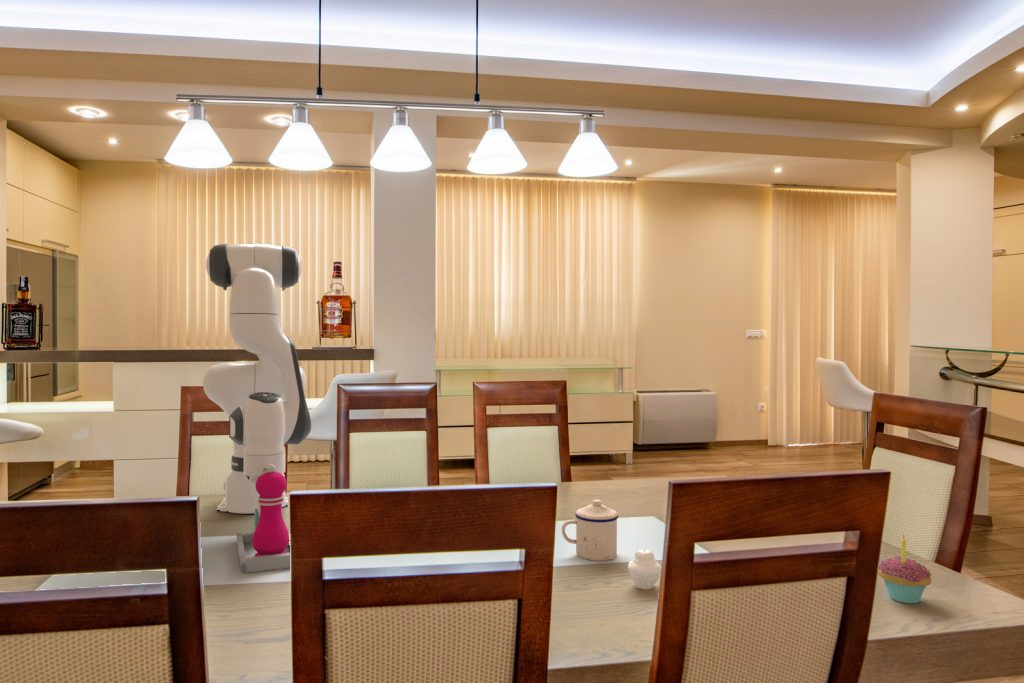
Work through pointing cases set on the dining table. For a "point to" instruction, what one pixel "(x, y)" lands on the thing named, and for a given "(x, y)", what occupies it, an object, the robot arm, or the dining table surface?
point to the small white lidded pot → (644, 569)
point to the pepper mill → (270, 514)
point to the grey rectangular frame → (259, 561)
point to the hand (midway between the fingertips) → (264, 526)
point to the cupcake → (904, 577)
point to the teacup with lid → (594, 532)
